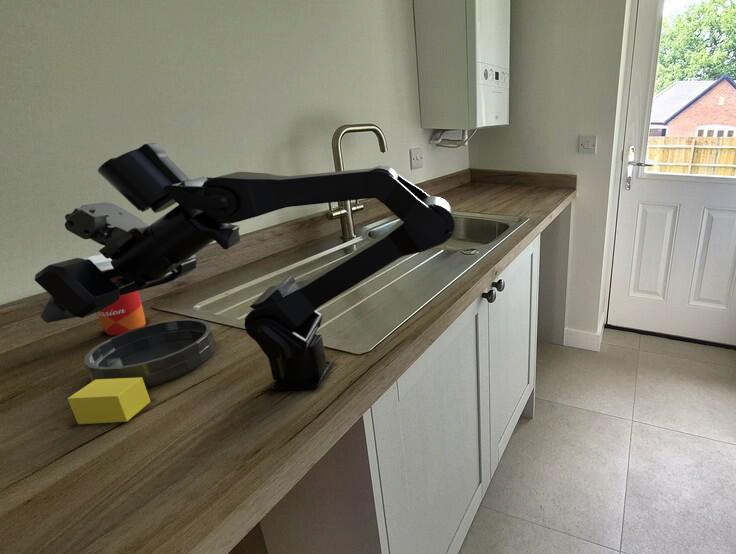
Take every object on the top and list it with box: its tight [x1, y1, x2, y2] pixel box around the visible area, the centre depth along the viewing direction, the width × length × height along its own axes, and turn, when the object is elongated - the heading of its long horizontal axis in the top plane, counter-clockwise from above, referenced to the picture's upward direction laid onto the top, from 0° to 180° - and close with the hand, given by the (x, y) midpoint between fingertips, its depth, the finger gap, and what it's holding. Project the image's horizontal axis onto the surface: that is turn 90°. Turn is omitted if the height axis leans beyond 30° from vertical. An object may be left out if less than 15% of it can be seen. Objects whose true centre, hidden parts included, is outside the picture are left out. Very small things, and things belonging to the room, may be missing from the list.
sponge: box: [67, 377, 151, 425], centre depth 54 cm, size 6×4×4 cm, turn 94°
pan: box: [83, 318, 217, 388], centre depth 65 cm, size 15×15×4 cm
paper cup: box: [82, 253, 147, 336], centre depth 75 cm, size 8×8×14 cm
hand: (79, 305), depth 53 cm, fingers open, 9 cm apart
